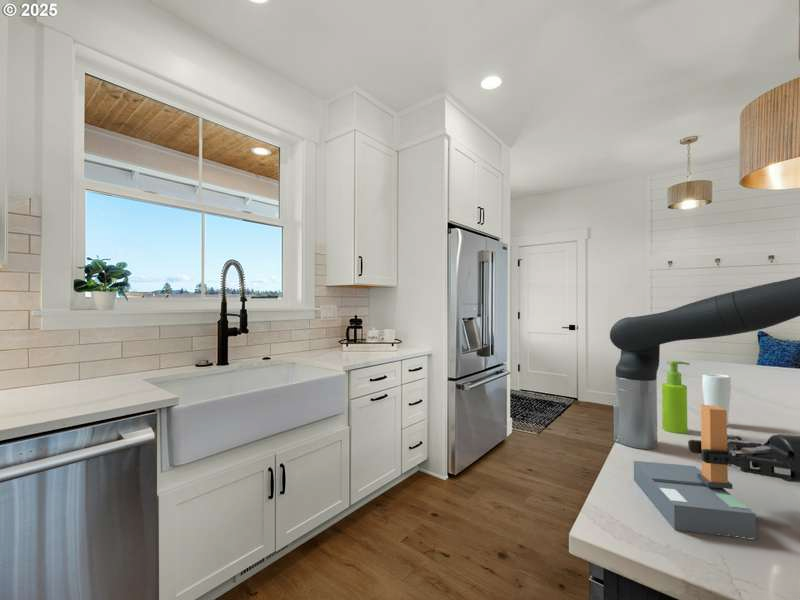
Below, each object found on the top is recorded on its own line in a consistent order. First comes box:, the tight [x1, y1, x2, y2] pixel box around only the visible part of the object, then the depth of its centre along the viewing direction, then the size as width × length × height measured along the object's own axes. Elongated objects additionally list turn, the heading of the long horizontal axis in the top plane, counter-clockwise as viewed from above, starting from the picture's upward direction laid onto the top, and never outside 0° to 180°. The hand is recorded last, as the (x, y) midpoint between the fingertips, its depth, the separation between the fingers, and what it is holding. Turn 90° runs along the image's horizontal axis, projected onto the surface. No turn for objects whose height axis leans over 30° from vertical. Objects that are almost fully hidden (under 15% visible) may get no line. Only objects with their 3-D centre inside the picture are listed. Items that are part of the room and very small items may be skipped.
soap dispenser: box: [661, 360, 690, 434], centre depth 110 cm, size 6×7×20 cm
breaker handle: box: [697, 404, 733, 490], centre depth 68 cm, size 4×4×14 cm
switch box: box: [633, 460, 757, 540], centre depth 69 cm, size 11×18×4 cm, turn 166°
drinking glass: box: [701, 373, 732, 427], centre depth 116 cm, size 7×7×15 cm
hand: (696, 450), depth 68 cm, fingers open, 4 cm apart
